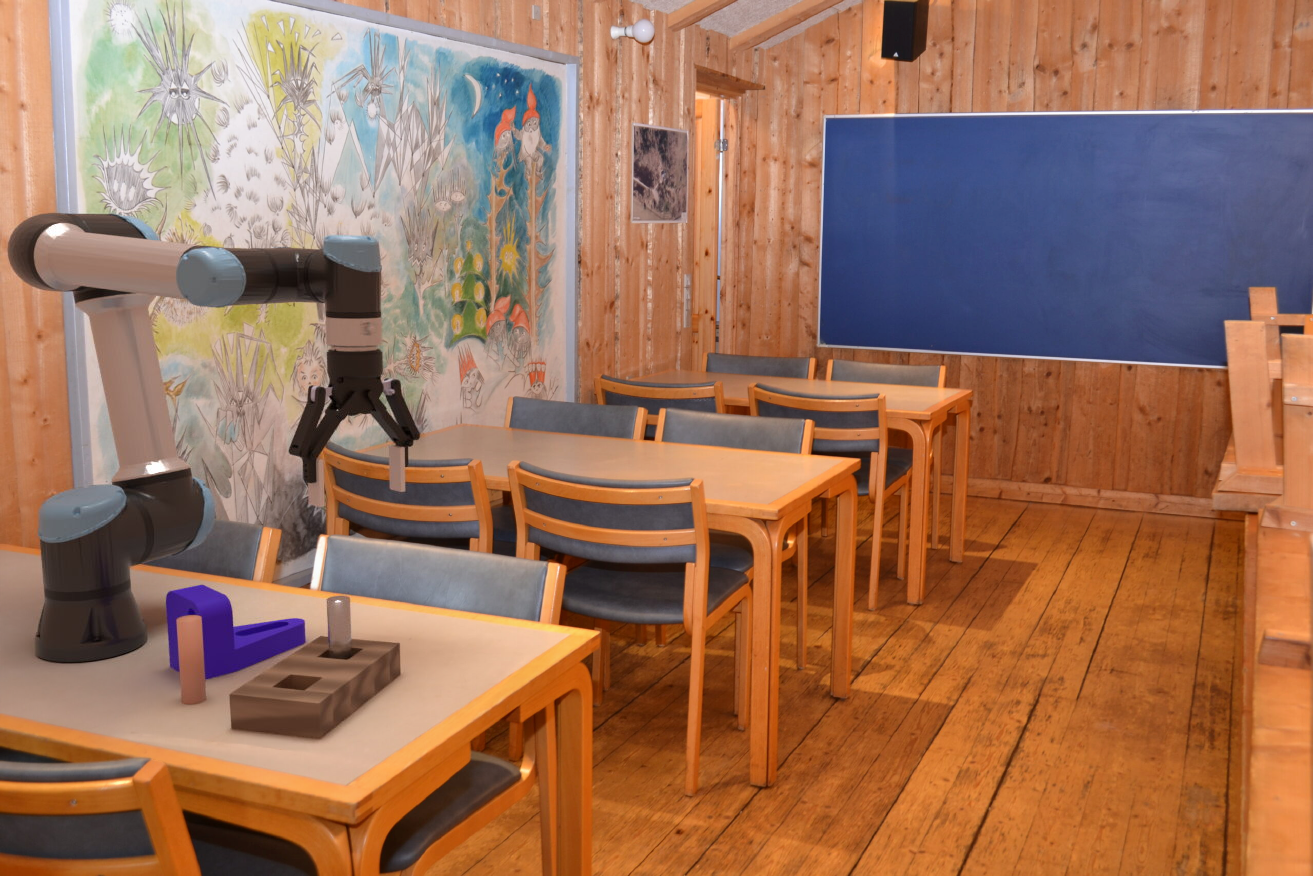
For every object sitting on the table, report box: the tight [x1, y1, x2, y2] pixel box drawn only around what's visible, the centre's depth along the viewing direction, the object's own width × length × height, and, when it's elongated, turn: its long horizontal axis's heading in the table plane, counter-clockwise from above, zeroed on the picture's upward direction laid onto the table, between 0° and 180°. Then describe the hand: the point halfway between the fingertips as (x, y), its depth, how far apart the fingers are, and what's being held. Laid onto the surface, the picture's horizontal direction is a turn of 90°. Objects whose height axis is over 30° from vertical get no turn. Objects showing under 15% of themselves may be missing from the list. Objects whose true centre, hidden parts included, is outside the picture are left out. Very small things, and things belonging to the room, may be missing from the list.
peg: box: [177, 615, 207, 706], centre depth 151 cm, size 3×3×12 cm
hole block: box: [229, 635, 401, 740], centre depth 152 cm, size 22×12×6 cm, turn 167°
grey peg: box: [326, 595, 353, 660], centre depth 156 cm, size 3×3×12 cm
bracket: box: [165, 584, 306, 681], centre depth 168 cm, size 18×11×12 cm, turn 136°
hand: (358, 497), depth 165 cm, fingers open, 13 cm apart
